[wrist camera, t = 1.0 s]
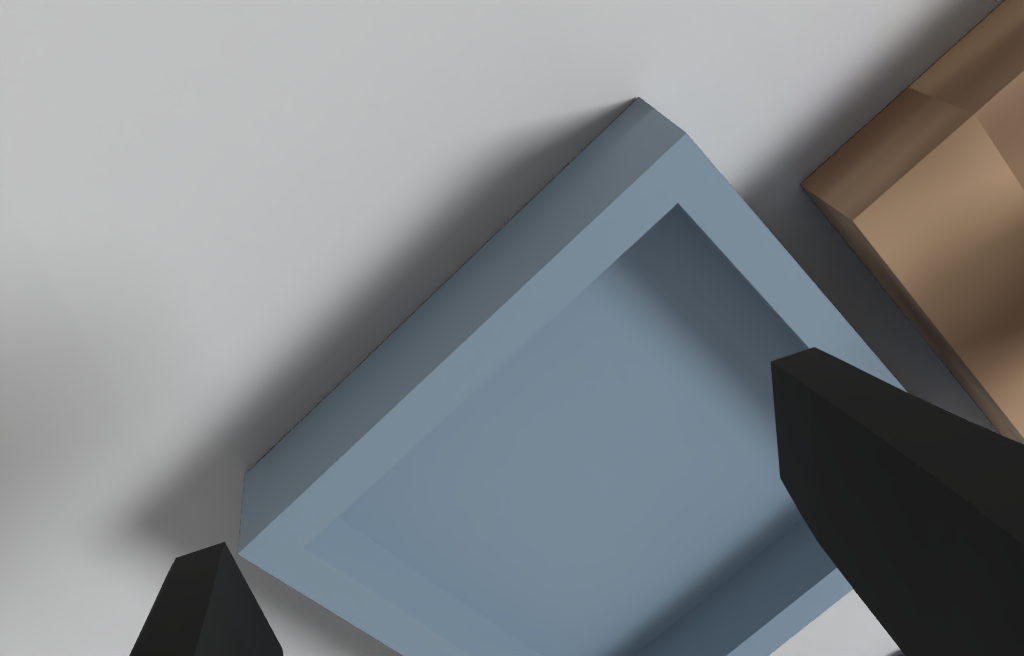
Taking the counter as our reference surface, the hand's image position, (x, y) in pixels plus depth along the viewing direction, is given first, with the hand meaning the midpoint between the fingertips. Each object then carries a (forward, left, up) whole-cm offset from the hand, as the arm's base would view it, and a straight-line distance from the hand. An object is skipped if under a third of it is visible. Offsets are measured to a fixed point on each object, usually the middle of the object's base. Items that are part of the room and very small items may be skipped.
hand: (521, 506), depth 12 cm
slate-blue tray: (-8, +1, -11) cm, 13 cm away
